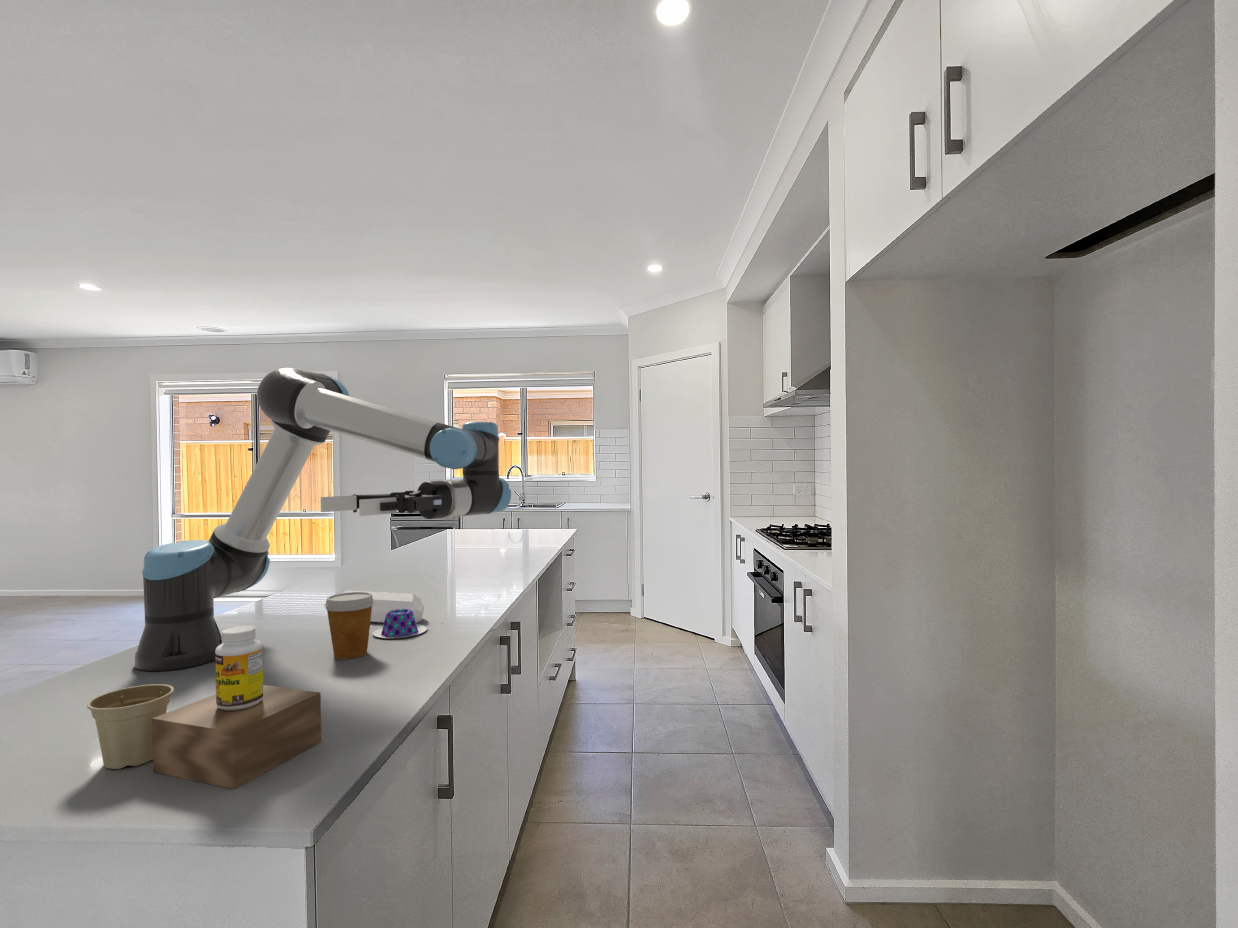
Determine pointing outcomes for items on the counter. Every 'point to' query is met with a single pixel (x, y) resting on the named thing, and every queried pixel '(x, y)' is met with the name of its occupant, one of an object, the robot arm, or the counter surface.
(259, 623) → the counter surface
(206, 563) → the robot arm
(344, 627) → the disposable coffee cup
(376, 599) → the white rectangular box
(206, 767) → the block
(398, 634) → the pudding
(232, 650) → the supplement bottle
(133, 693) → the flower pot
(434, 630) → the counter surface
